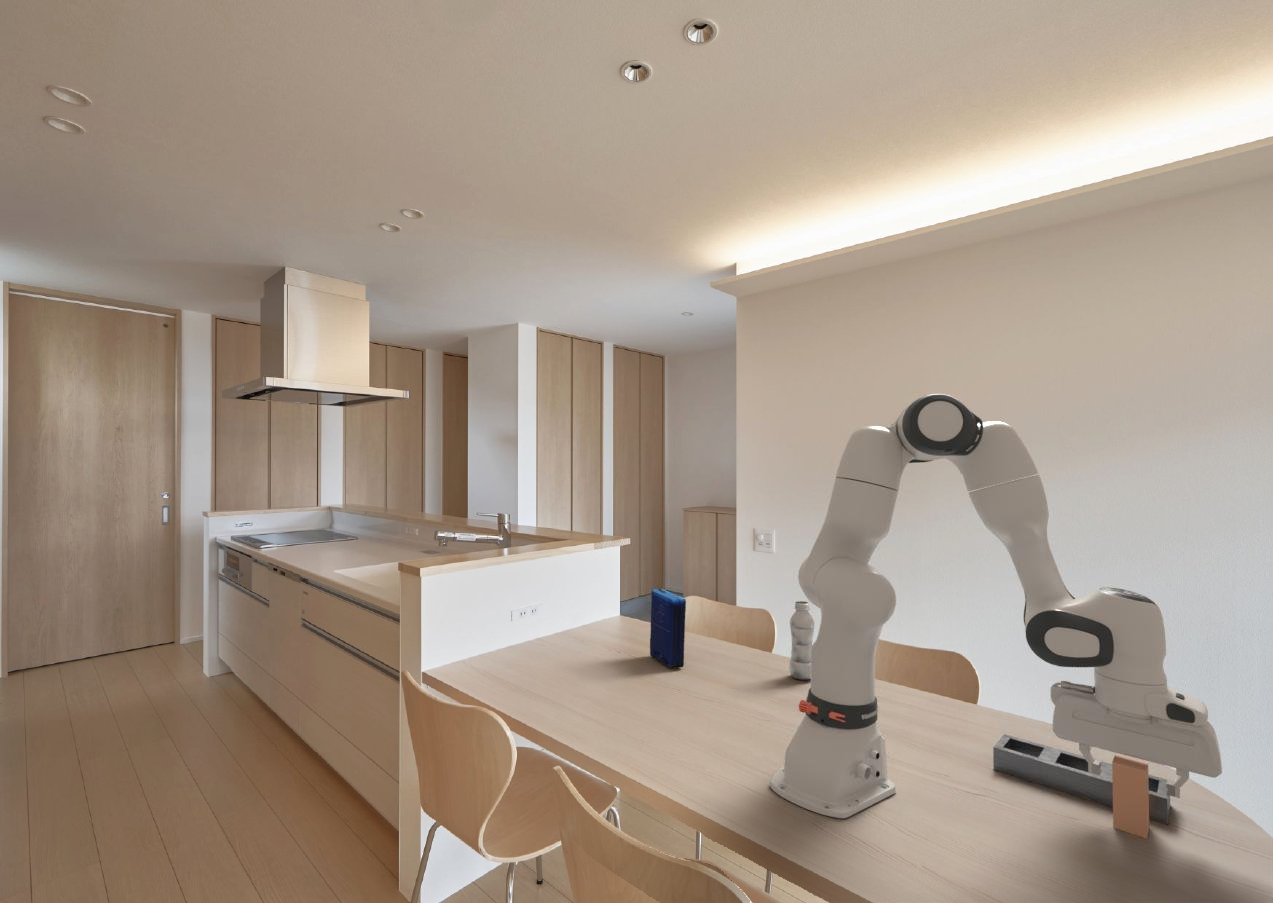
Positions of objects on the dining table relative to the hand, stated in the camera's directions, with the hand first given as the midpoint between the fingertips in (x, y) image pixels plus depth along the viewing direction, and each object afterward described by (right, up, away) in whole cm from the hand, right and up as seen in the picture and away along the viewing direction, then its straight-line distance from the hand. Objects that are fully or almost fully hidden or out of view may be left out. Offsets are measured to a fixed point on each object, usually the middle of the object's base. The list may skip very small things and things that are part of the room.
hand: (1132, 783), depth 92 cm
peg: (-1, -7, 0) cm, 7 cm away
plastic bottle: (-34, -9, +64) cm, 73 cm away
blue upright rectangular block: (-69, -8, +75) cm, 103 cm away
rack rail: (0, -7, +12) cm, 13 cm away
